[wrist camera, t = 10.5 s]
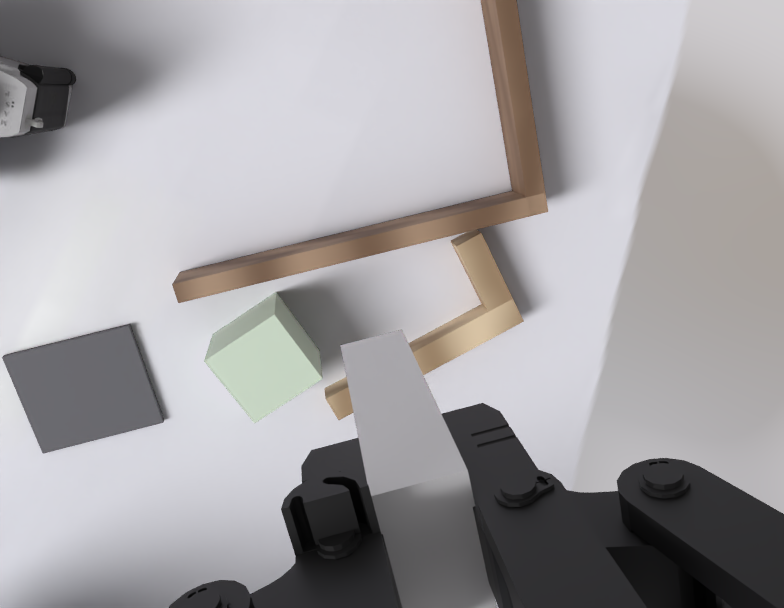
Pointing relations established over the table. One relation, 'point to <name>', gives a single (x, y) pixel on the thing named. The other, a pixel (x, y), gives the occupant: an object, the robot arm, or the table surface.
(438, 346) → the crook
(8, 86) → the camera
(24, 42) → the table surface
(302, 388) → the sage cube
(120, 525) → the table surface
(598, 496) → the robot arm
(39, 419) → the pad
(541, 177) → the brown wooden u frame
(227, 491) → the table surface
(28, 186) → the table surface
